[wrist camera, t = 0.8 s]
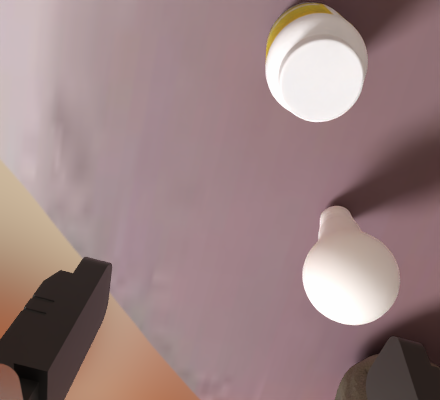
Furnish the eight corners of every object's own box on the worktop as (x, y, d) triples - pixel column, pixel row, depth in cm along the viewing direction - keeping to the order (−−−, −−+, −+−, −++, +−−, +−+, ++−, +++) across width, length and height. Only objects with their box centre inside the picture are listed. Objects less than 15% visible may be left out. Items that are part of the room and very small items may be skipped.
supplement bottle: (252, 62, 29) (243, 103, 21) (293, -15, 26) (303, -5, 18) (318, 99, 30) (336, 153, 21) (364, 27, 27) (406, 56, 19)
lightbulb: (287, 233, 36) (292, 331, 26) (311, 172, 33) (327, 258, 23) (355, 251, 36) (384, 355, 26) (385, 192, 33) (431, 285, 23)
